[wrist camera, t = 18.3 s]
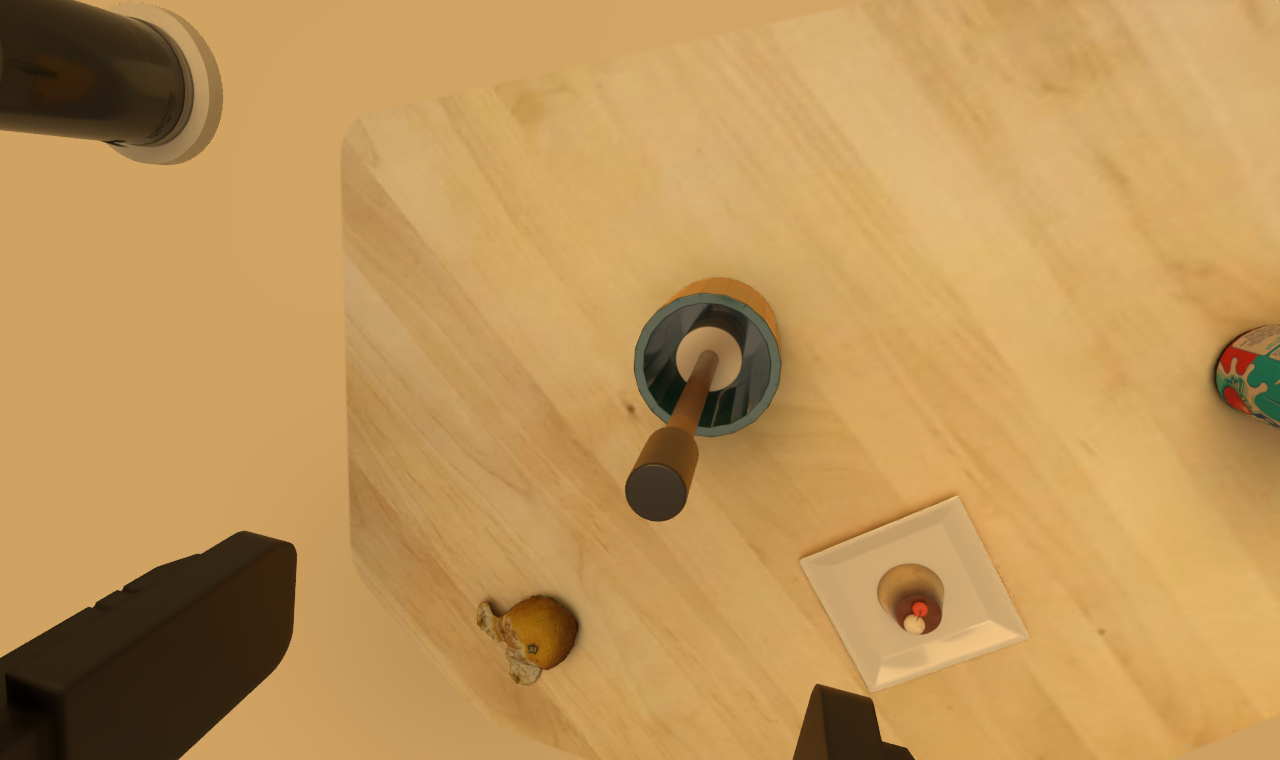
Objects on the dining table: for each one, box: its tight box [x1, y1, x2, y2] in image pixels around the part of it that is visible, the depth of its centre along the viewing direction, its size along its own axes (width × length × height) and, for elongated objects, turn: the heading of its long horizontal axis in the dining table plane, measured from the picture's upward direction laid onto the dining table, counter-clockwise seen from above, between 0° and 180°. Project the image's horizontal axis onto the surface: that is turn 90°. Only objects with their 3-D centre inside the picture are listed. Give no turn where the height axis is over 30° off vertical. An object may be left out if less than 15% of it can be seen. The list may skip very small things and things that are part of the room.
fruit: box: [477, 596, 578, 686], centre depth 56 cm, size 8×8×4 cm
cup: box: [634, 278, 782, 437], centre depth 45 cm, size 8×8×10 cm
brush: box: [625, 311, 746, 521], centre depth 36 cm, size 4×4×28 cm
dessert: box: [799, 496, 1030, 693], centre depth 49 cm, size 12×12×5 cm
